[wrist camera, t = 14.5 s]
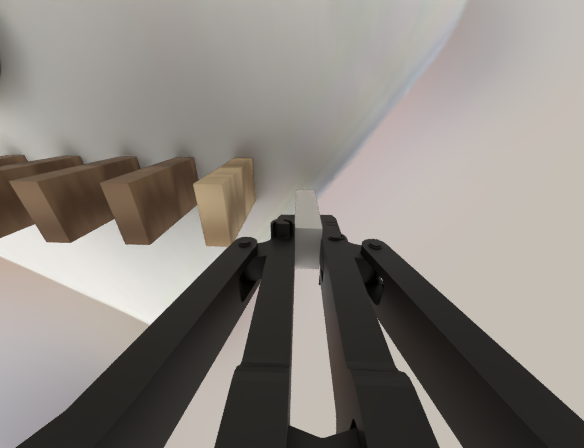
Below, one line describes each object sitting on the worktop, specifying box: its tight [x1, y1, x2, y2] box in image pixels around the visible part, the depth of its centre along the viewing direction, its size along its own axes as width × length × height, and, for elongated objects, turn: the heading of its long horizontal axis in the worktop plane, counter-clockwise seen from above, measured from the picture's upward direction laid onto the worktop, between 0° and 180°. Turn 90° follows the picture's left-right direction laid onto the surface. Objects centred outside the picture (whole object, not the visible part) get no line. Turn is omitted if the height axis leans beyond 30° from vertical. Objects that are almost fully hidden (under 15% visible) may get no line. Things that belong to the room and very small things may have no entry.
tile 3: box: [9, 157, 140, 243], centre depth 20 cm, size 5×2×10 cm, turn 0°
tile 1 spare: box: [193, 158, 255, 247], centre depth 20 cm, size 5×2×10 cm, turn 0°
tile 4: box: [0, 156, 84, 238], centre depth 20 cm, size 5×2×10 cm, turn 0°
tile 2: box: [100, 157, 198, 245], centre depth 20 cm, size 5×2×10 cm, turn 0°
